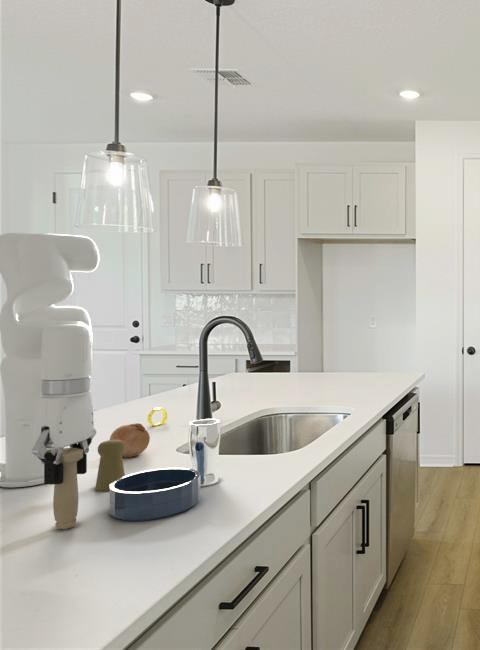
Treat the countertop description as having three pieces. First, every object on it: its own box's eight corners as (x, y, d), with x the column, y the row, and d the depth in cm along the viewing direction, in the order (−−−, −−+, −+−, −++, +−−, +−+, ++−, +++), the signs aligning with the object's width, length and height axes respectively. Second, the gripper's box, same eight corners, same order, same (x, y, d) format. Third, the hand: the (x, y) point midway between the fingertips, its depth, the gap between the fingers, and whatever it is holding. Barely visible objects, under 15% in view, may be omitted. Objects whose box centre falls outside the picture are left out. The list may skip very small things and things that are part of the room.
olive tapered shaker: (132, 484, 136) (132, 439, 136) (107, 492, 130) (107, 445, 130) (114, 481, 138) (114, 436, 138) (89, 488, 132) (89, 442, 132)
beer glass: (206, 488, 134) (206, 426, 134) (181, 485, 136) (181, 424, 135) (226, 479, 141) (227, 419, 141) (202, 476, 143) (203, 418, 142)
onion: (145, 463, 162) (164, 431, 164) (120, 464, 153) (140, 429, 154) (119, 449, 163) (138, 417, 165) (93, 449, 154) (113, 415, 156)
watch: (163, 422, 198) (163, 406, 198) (168, 423, 197) (168, 406, 197) (146, 426, 193) (146, 409, 192) (151, 427, 191) (151, 409, 191)
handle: (70, 519, 115) (71, 446, 115) (88, 525, 112) (89, 451, 112) (42, 528, 111) (42, 452, 110) (60, 534, 108) (60, 457, 107)
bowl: (89, 521, 114) (89, 492, 114) (142, 492, 131) (142, 467, 131) (172, 523, 114) (172, 493, 114) (214, 494, 131) (214, 468, 131)
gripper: (79, 380, 119) (79, 465, 120) (8, 394, 102) (8, 493, 102) (115, 380, 119) (115, 465, 120) (50, 395, 102) (50, 494, 103)
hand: (66, 477), depth 111 cm, fingers closed on handle, 5 cm apart
